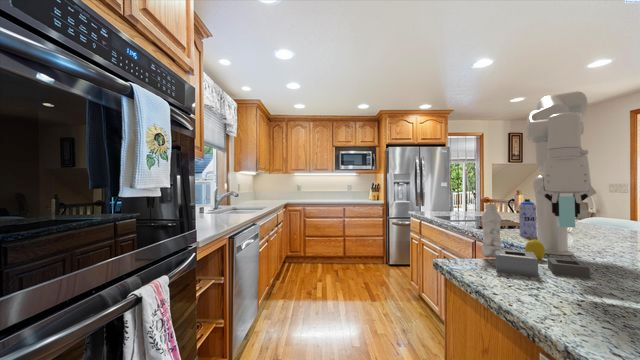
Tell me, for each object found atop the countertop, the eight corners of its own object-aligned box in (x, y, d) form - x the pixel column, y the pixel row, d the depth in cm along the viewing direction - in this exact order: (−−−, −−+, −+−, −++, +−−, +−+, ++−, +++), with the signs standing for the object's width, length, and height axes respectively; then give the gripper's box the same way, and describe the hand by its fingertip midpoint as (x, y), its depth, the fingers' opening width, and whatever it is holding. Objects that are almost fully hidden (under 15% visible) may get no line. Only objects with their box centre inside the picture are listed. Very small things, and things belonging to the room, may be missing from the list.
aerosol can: (521, 236, 148) (520, 199, 149) (517, 234, 155) (516, 198, 156) (539, 237, 145) (538, 199, 146) (534, 235, 152) (533, 198, 153)
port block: (495, 266, 91) (495, 248, 92) (533, 271, 86) (533, 251, 86) (496, 275, 83) (495, 254, 83) (538, 280, 78) (537, 258, 78)
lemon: (548, 264, 95) (548, 240, 95) (530, 263, 96) (530, 240, 96) (539, 260, 100) (538, 237, 100) (522, 259, 101) (521, 237, 101)
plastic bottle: (479, 257, 103) (477, 204, 104) (485, 255, 108) (484, 203, 108) (498, 261, 98) (497, 205, 99) (505, 258, 103) (503, 204, 103)
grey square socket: (547, 270, 87) (547, 257, 88) (582, 274, 83) (581, 261, 83) (552, 277, 81) (552, 263, 81) (590, 282, 76) (589, 267, 77)
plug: (557, 225, 85) (556, 192, 85) (572, 225, 83) (571, 192, 83) (559, 226, 82) (558, 193, 82) (575, 227, 80) (574, 193, 80)
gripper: (597, 154, 82) (599, 216, 82) (528, 157, 91) (529, 213, 90) (606, 151, 76) (608, 219, 75) (531, 155, 84) (532, 216, 84)
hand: (565, 215), depth 83 cm, fingers closed on plug, 3 cm apart
